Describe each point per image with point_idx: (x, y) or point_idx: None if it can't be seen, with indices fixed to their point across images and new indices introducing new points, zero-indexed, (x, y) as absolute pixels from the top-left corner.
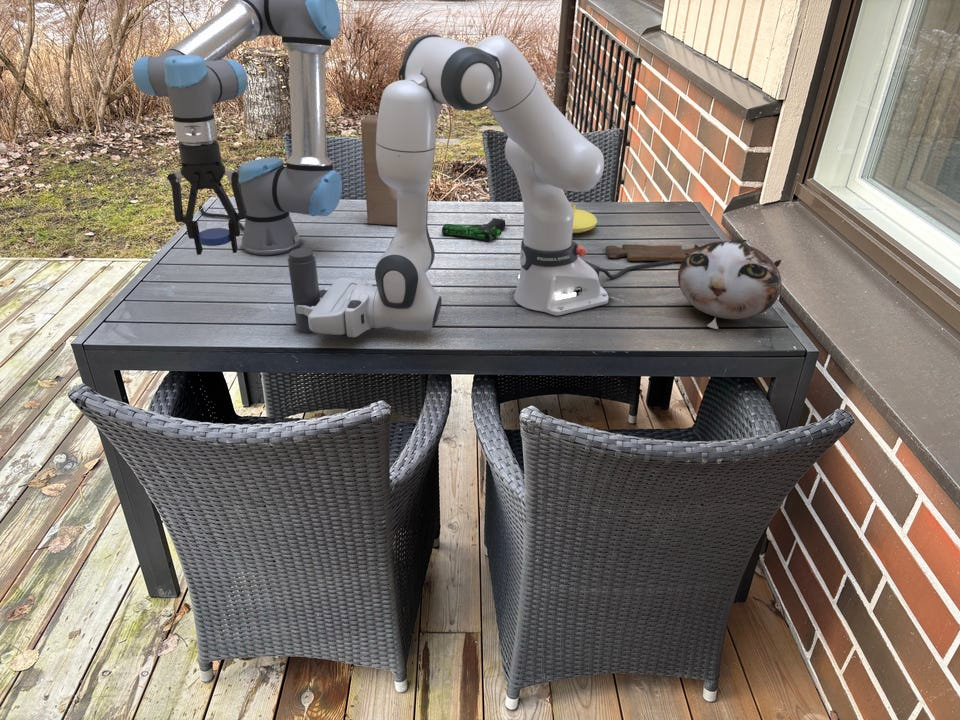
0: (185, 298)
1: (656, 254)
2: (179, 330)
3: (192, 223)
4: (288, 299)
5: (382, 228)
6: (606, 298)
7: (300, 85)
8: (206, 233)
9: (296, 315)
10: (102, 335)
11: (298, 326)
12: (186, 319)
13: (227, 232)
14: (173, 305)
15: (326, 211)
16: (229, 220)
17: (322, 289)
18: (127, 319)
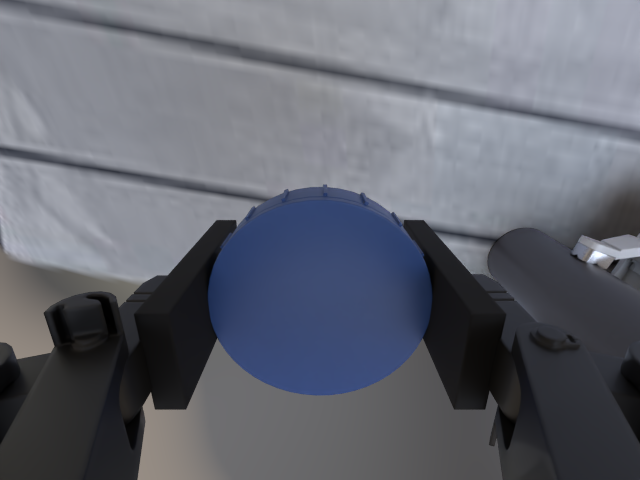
0: (158, 7)
1: None
2: (205, 227)
3: (150, 374)
4: (489, 74)
5: None
6: None
7: None
8: (264, 304)
9: (509, 291)
10: (25, 224)
11: (496, 279)
12: (205, 167)
13: (409, 304)
14: (137, 62)
15: None
16: (470, 339)
17: (637, 256)
18: (42, 142)
